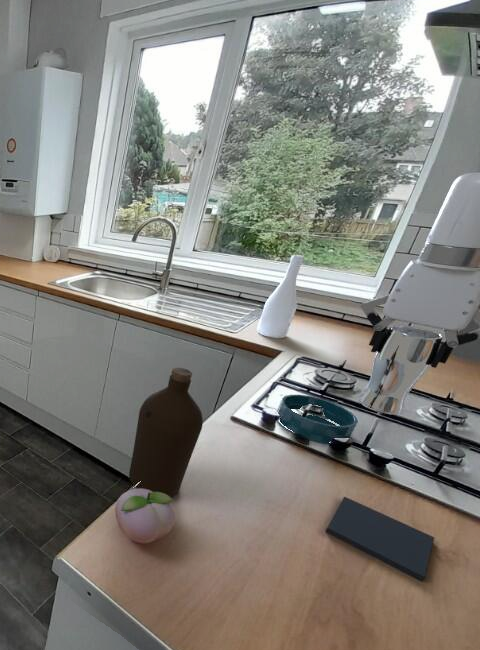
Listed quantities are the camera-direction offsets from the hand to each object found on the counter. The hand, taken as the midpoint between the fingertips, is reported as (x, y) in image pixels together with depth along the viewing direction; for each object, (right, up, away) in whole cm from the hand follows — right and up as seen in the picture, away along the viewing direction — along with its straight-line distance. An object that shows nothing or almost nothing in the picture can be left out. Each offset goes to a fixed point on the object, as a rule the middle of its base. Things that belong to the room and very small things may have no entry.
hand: (403, 356), depth 72 cm
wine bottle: (+39, +8, +84) cm, 93 cm away
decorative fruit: (-48, -31, -2) cm, 58 cm away
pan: (+7, -18, +28) cm, 34 cm away
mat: (-6, -31, -2) cm, 32 cm away
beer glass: (0, -9, +4) cm, 10 cm away
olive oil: (-40, -25, +10) cm, 48 cm away
